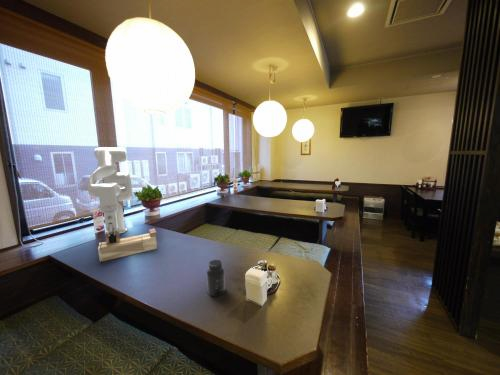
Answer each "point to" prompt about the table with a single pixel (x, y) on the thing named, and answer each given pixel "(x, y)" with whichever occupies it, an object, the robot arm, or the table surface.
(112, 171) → the robot arm
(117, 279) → the table surface
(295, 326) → the table surface
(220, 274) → the supplement bottle
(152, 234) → the brown wooden block
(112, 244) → the lid
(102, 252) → the light wooden long piece
